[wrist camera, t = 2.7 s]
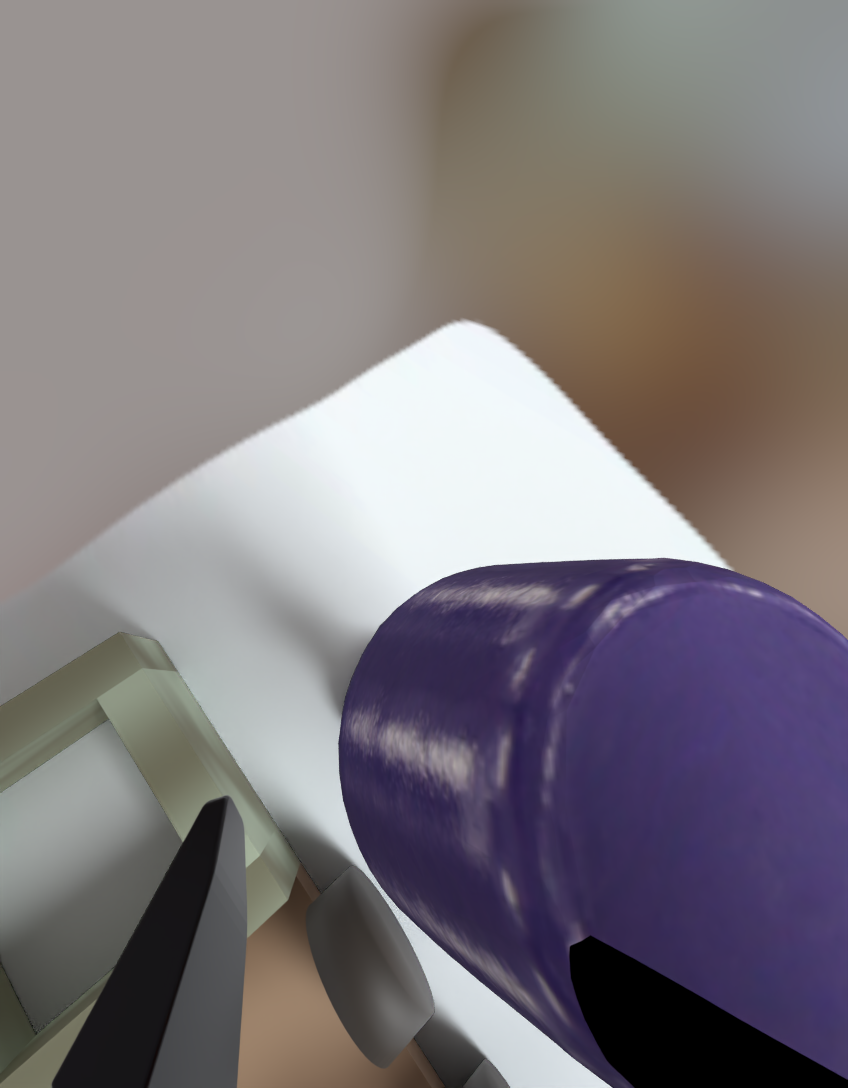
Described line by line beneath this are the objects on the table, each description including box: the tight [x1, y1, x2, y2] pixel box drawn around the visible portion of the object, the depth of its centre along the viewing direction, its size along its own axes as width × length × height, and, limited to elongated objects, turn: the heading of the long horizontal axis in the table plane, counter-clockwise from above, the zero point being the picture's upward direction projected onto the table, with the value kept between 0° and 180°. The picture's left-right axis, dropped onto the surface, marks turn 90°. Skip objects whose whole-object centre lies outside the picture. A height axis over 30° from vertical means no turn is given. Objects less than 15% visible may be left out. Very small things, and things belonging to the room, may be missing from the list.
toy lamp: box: [338, 558, 848, 1088], centre depth 10 cm, size 5×5×17 cm
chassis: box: [0, 632, 510, 1088], centre depth 12 cm, size 22×13×4 cm, turn 39°
